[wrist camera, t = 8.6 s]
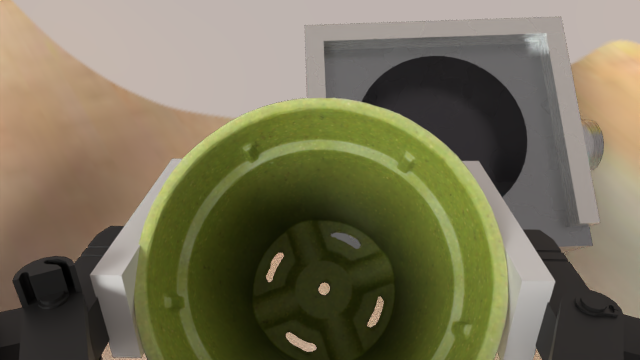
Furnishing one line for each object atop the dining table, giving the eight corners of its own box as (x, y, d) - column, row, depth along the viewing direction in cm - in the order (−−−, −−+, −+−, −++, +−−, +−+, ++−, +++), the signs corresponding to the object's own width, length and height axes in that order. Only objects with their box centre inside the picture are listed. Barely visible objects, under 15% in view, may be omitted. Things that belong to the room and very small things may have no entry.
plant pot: (390, 455, 18) (441, 556, 10) (173, 355, 20) (60, 372, 11) (463, 232, 21) (551, 167, 13) (267, 156, 22) (230, 52, 14)
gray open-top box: (314, 265, 36) (311, 253, 28) (308, 81, 39) (304, 25, 32) (581, 255, 36) (655, 241, 28) (549, 73, 40) (606, 14, 32)
